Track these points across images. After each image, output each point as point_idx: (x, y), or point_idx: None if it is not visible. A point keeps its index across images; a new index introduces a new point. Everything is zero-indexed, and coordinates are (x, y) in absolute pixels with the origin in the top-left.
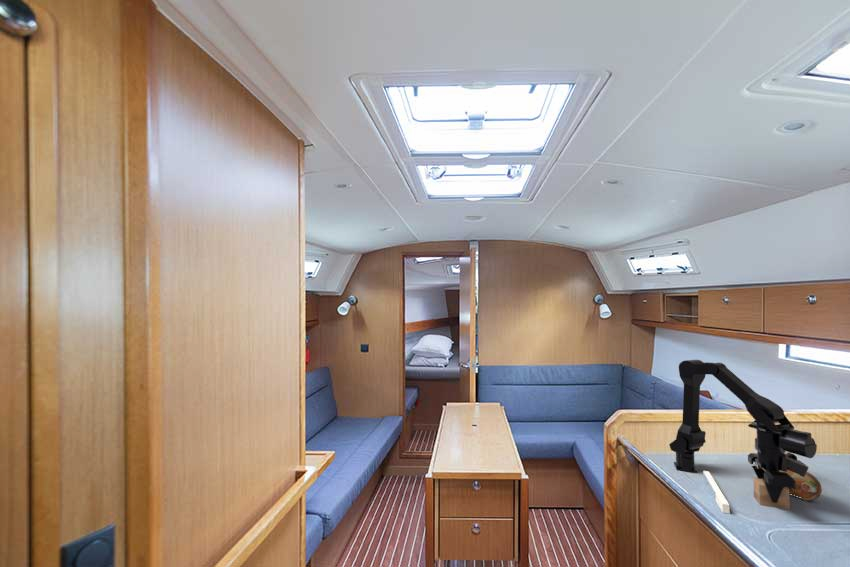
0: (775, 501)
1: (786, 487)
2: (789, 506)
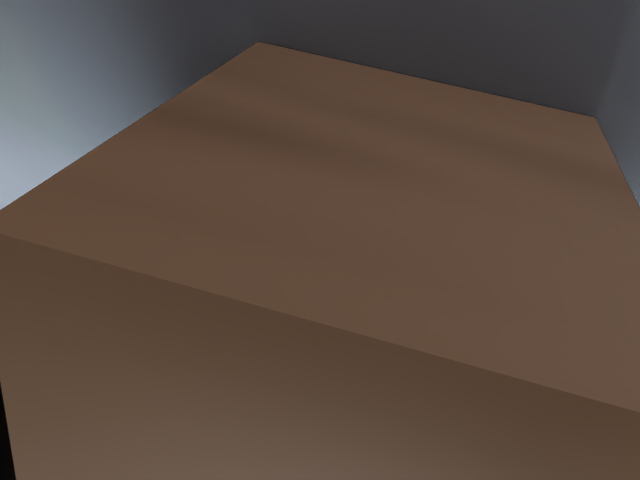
0: None
1: (577, 433)
2: (606, 143)
